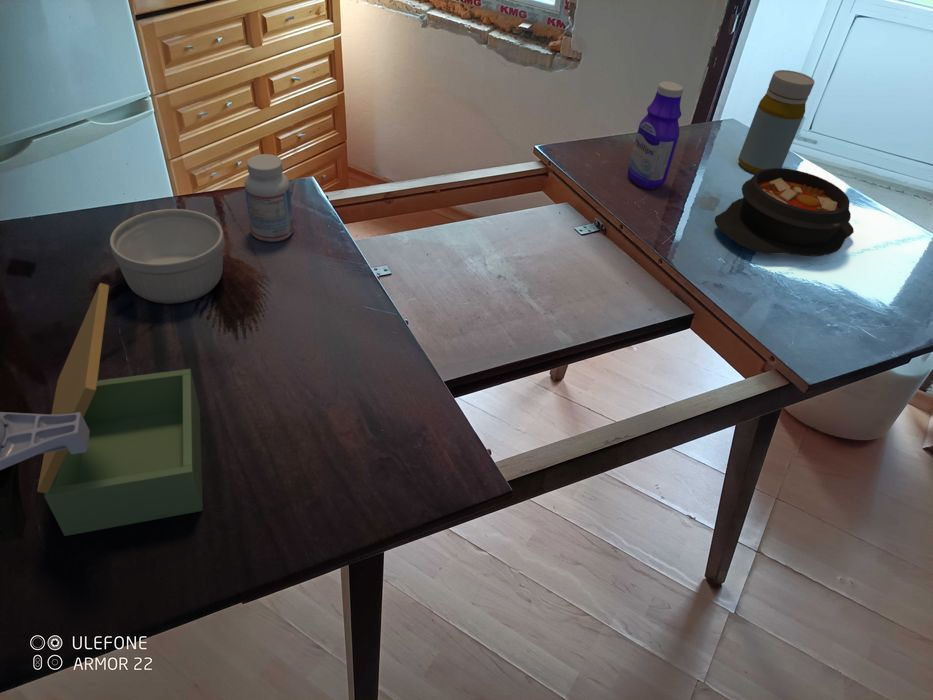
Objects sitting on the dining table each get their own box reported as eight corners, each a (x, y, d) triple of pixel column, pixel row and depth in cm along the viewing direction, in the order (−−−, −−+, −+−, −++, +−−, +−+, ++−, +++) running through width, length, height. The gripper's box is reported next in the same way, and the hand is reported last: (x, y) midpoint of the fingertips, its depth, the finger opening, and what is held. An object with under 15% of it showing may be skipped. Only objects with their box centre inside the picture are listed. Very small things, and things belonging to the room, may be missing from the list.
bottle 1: (619, 175, 125) (644, 79, 114) (643, 170, 128) (670, 76, 116) (645, 193, 121) (673, 95, 109) (669, 188, 123) (699, 92, 112)
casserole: (767, 279, 103) (789, 231, 98) (686, 218, 115) (702, 172, 110) (875, 250, 113) (901, 205, 107) (790, 197, 125) (810, 154, 120)
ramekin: (242, 257, 95) (235, 213, 91) (213, 315, 85) (204, 269, 81) (145, 248, 95) (133, 203, 90) (104, 306, 85) (89, 259, 80)
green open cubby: (199, 408, 73) (190, 368, 70) (202, 510, 64) (192, 471, 60) (80, 425, 70) (63, 384, 66) (64, 536, 61) (43, 496, 57)
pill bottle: (266, 217, 103) (258, 147, 96) (301, 228, 102) (296, 158, 95) (242, 236, 99) (231, 164, 92) (278, 247, 98) (271, 175, 90)
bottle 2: (728, 163, 134) (762, 73, 122) (751, 154, 138) (785, 66, 127) (764, 180, 129) (802, 88, 118) (787, 171, 134) (826, 81, 122)
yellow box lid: (109, 285, 61) (99, 282, 61) (96, 390, 51) (84, 387, 51) (66, 382, 66) (57, 380, 66) (47, 493, 57) (36, 492, 56)
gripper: (-261, 475, 36) (-120, 606, 45) (44, 419, 39) (118, 551, 48) (-207, 385, 41) (-90, 519, 50) (60, 342, 44) (124, 474, 53)
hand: (14, 529), depth 49 cm, fingers closed
